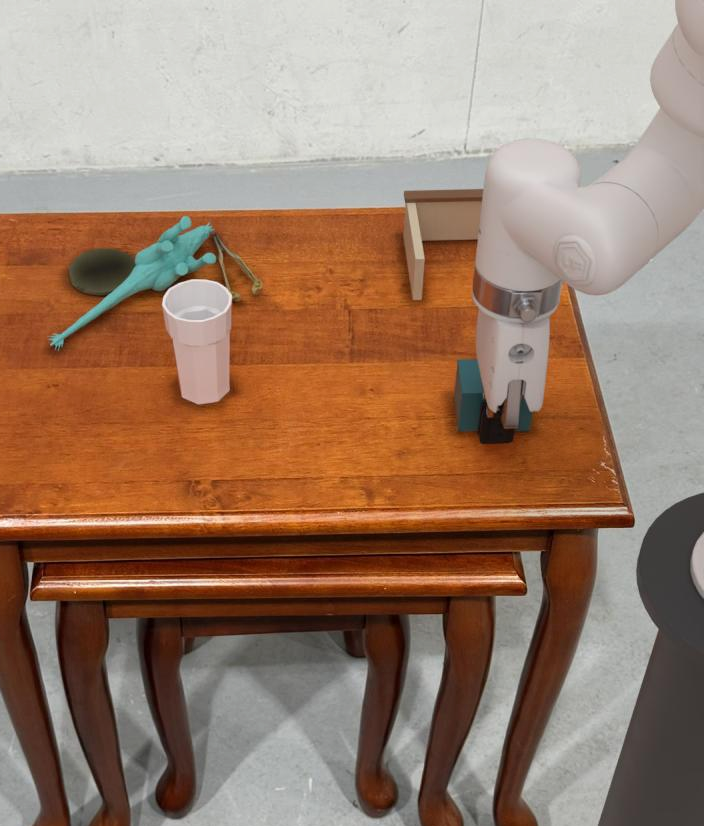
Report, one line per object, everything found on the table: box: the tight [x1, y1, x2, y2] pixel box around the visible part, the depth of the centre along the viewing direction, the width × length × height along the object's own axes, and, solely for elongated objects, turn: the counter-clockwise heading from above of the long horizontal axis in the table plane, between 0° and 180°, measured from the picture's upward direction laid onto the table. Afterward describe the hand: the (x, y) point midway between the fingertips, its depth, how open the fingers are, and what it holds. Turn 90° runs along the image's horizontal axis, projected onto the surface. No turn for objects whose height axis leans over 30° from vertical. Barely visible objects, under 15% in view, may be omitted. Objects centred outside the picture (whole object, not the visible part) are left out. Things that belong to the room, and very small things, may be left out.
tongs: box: [210, 231, 263, 303], centre depth 143 cm, size 4×13×2 cm, turn 25°
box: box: [453, 358, 534, 432], centre depth 125 cm, size 5×7×5 cm
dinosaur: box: [47, 215, 217, 351], centre depth 138 cm, size 6×25×8 cm
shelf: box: [402, 188, 484, 301], centre depth 142 cm, size 12×12×6 cm
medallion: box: [68, 247, 136, 296], centre depth 143 cm, size 8×8×1 cm
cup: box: [161, 278, 233, 405], centre depth 126 cm, size 7×7×11 cm
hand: (494, 437), depth 122 cm, fingers closed
